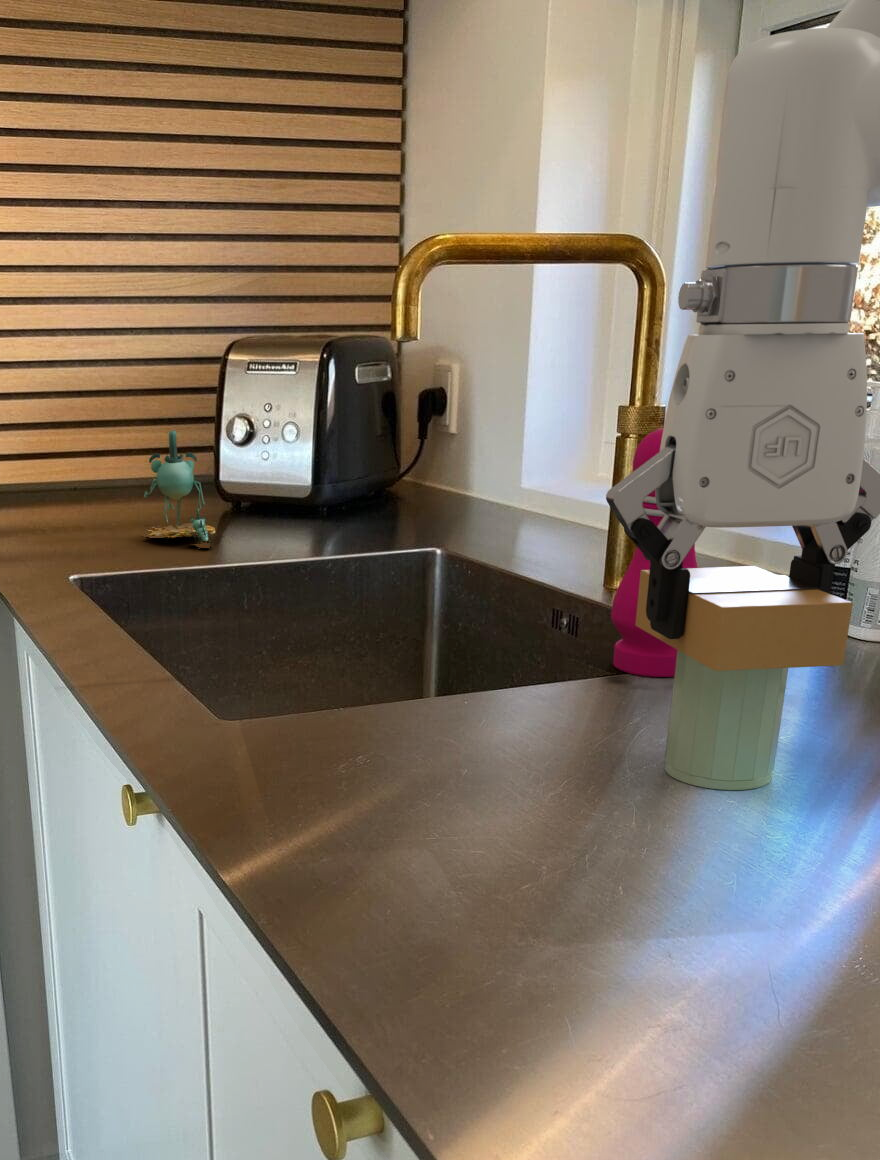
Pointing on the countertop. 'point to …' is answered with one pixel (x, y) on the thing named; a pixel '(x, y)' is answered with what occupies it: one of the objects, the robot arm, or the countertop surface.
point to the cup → (724, 725)
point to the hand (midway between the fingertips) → (734, 629)
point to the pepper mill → (637, 645)
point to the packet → (756, 620)
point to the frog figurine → (177, 491)
